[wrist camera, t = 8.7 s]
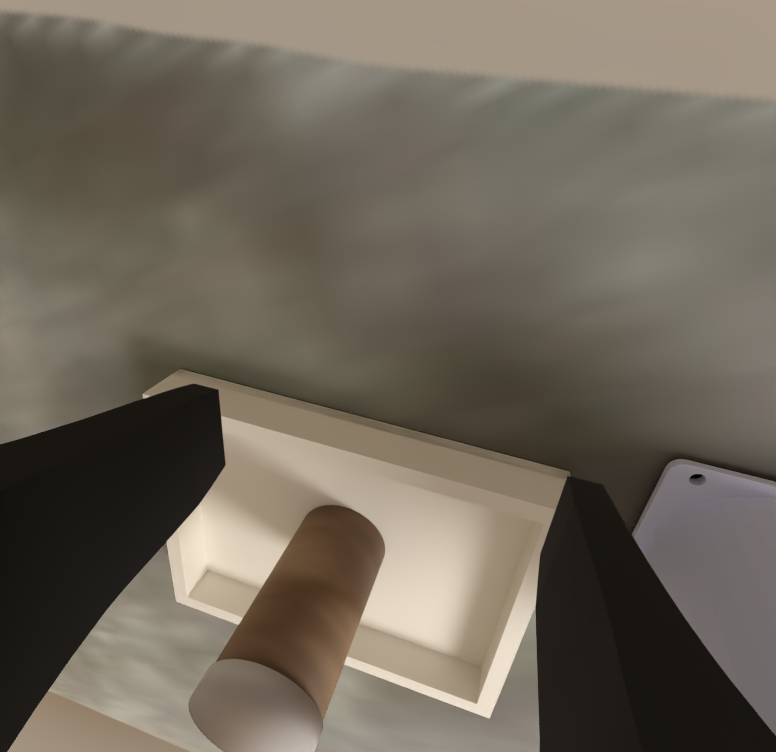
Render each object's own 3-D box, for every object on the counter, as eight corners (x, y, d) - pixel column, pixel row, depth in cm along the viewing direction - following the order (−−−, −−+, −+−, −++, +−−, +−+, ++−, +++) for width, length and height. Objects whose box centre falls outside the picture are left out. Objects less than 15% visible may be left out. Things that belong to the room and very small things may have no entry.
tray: (569, 471, 19) (572, 514, 17) (494, 670, 26) (489, 718, 24) (180, 368, 23) (142, 393, 21) (202, 567, 30) (176, 601, 28)
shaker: (402, 536, 23) (330, 742, 15) (365, 588, 25) (286, 789, 18) (318, 487, 23) (204, 667, 15) (288, 543, 25) (177, 724, 18)
